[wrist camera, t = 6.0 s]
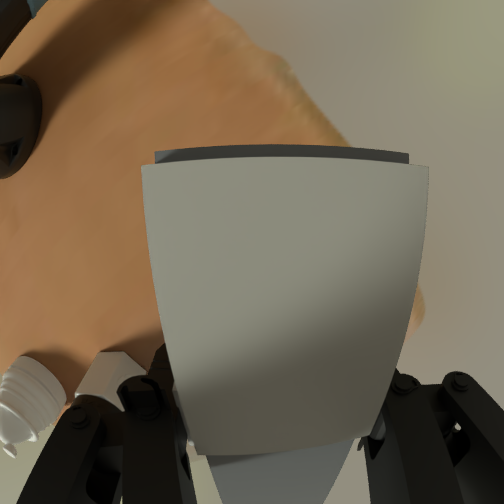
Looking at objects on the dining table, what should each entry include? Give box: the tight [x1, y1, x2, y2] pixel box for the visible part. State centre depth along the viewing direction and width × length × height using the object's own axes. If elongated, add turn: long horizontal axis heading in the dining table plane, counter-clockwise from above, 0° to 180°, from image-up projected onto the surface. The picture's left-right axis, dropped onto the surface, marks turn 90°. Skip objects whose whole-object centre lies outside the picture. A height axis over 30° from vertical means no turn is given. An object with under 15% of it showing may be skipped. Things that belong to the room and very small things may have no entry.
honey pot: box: [0, 356, 67, 458], centre depth 28 cm, size 13×13×18 cm
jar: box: [71, 351, 146, 415], centre depth 30 cm, size 9×8×12 cm
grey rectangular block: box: [141, 144, 429, 504], centre depth 9 cm, size 14×4×8 cm, turn 2°
